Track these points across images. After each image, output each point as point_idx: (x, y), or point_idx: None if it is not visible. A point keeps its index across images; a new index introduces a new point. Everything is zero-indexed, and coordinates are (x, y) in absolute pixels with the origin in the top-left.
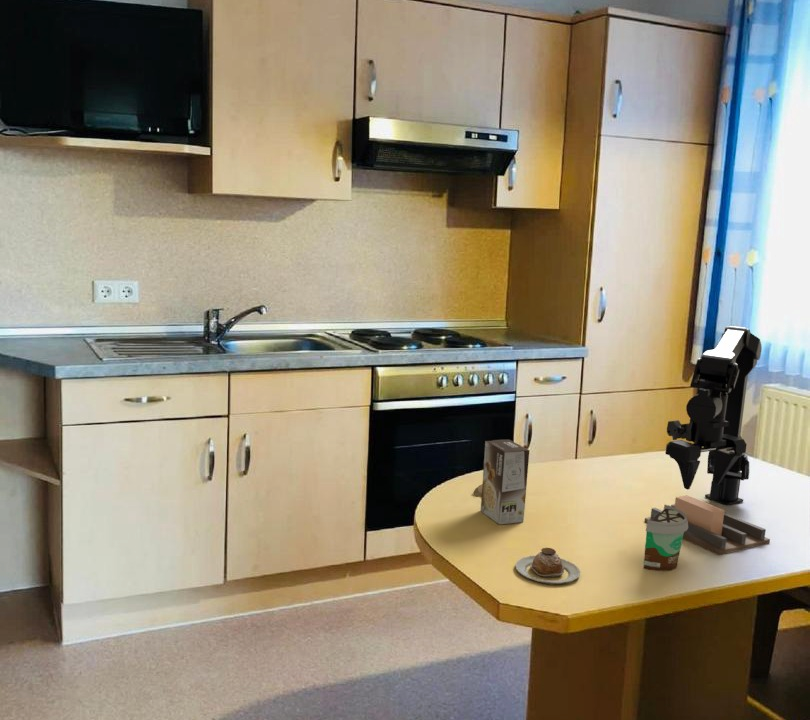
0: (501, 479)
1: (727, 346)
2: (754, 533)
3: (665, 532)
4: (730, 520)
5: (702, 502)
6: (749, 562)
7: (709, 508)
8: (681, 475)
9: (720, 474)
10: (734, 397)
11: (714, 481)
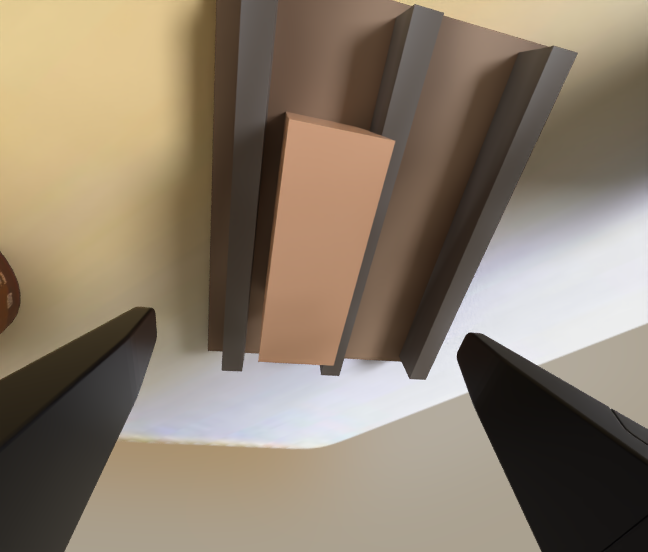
0: None
1: None
2: (410, 346)
3: None
4: (446, 274)
5: (346, 266)
6: (246, 394)
7: (291, 328)
8: (17, 375)
9: (497, 427)
10: None
11: (473, 343)
